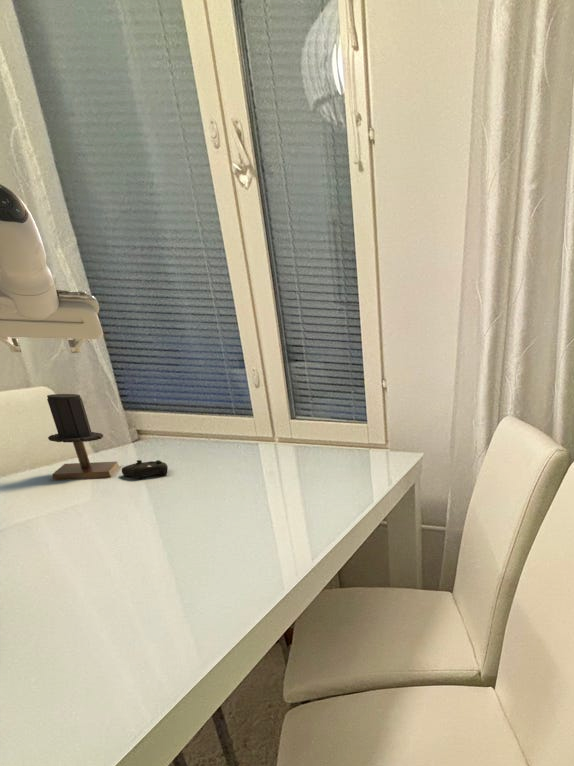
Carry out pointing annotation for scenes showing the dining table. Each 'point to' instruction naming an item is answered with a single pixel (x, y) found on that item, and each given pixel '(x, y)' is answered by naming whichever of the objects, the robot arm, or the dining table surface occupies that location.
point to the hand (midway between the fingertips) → (46, 350)
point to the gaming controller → (145, 469)
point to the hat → (70, 419)
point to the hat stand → (85, 467)
